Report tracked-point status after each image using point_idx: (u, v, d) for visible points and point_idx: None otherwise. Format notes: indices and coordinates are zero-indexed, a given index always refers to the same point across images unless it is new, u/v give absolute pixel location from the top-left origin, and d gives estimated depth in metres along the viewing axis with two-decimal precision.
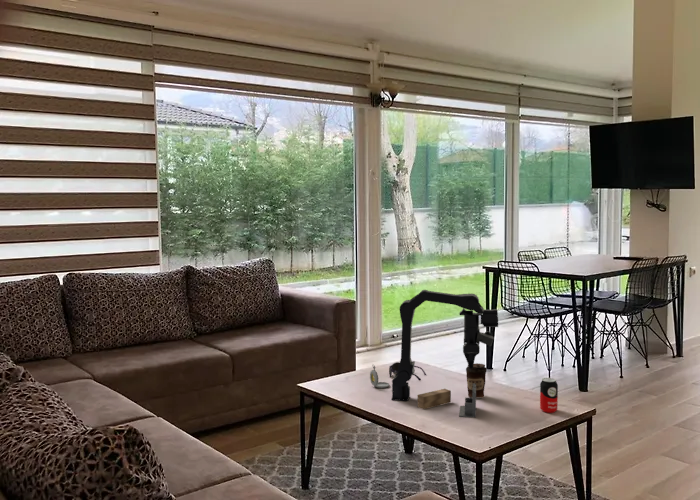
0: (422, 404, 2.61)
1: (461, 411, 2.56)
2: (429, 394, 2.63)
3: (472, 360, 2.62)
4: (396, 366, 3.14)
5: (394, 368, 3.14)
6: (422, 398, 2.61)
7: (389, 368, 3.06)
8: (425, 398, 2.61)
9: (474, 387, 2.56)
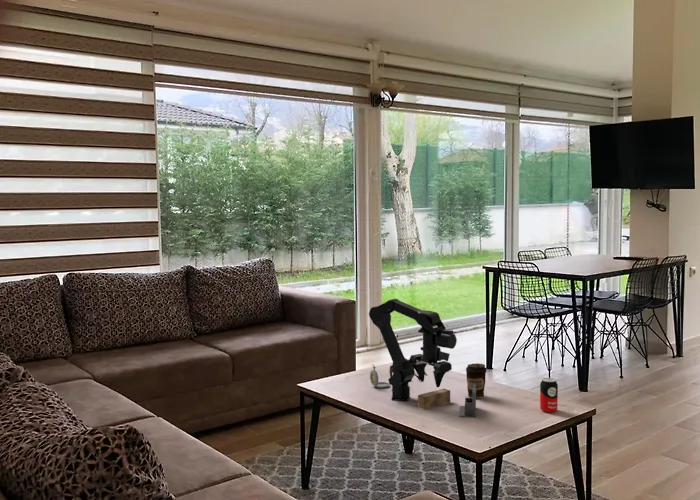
0: (423, 404, 2.61)
1: (461, 411, 2.56)
2: (429, 394, 2.63)
3: (441, 378, 2.59)
4: None
5: None
6: (422, 398, 2.60)
7: (390, 368, 3.06)
8: (426, 398, 2.61)
9: (474, 387, 2.56)
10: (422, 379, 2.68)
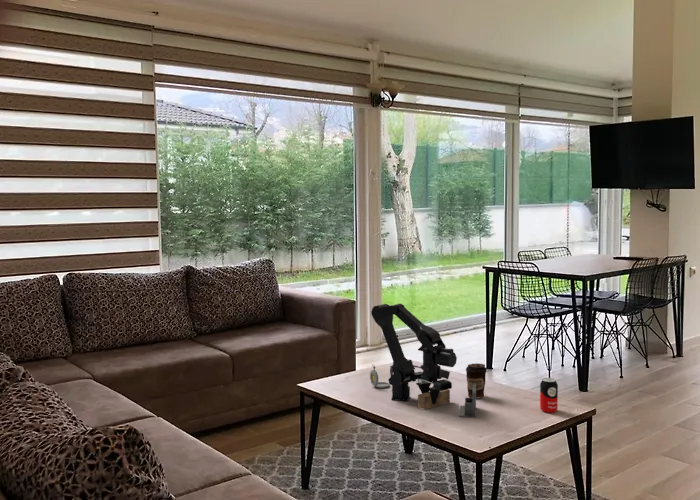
0: (423, 404, 2.61)
1: (461, 411, 2.56)
2: (429, 393, 2.63)
3: (436, 395, 2.62)
4: None
5: None
6: (423, 397, 2.60)
7: (390, 368, 3.06)
8: (426, 398, 2.61)
9: (474, 387, 2.56)
10: None
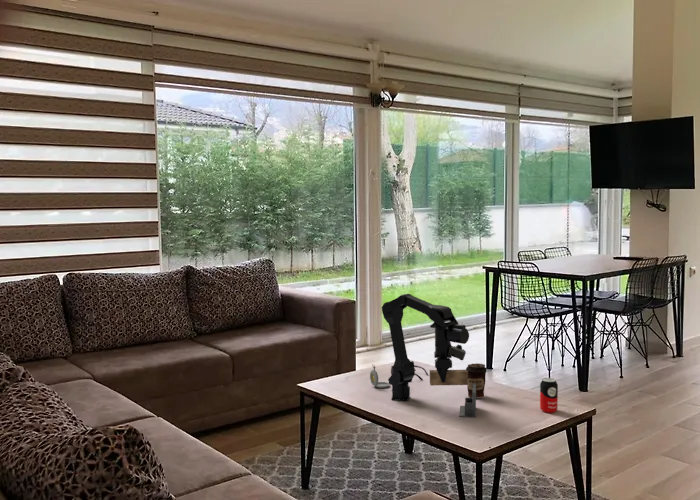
0: (430, 380, 2.57)
1: (461, 411, 2.56)
2: None
3: (444, 374, 2.55)
4: None
5: None
6: (430, 373, 2.57)
7: (391, 368, 3.06)
8: (433, 374, 2.56)
9: (474, 387, 2.56)
10: None
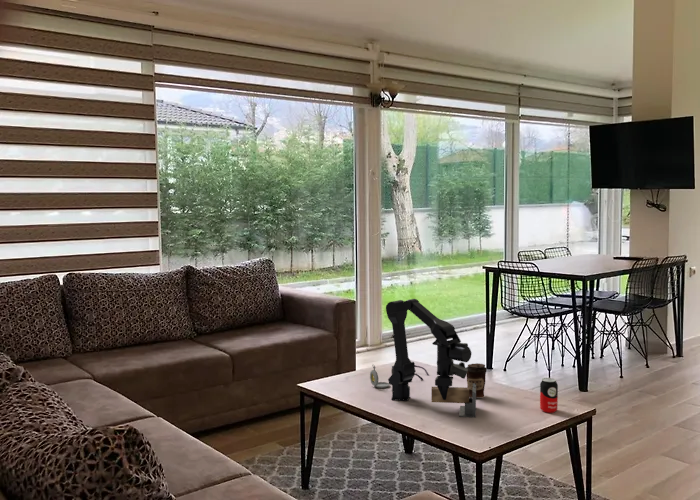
0: None
1: (461, 411, 2.56)
2: None
3: (445, 391, 2.54)
4: None
5: None
6: None
7: None
8: (434, 391, 2.56)
9: (474, 387, 2.56)
10: None
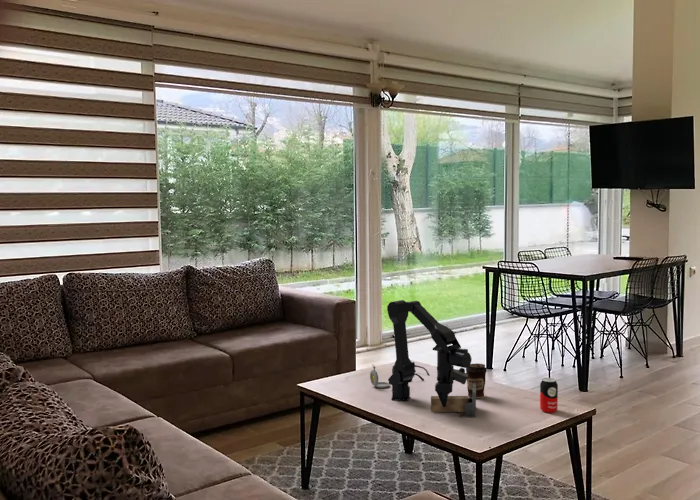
0: (431, 406, 2.58)
1: None
2: None
3: (445, 398, 2.53)
4: None
5: None
6: None
7: (392, 368, 3.06)
8: (433, 400, 2.57)
9: (474, 387, 2.56)
10: None
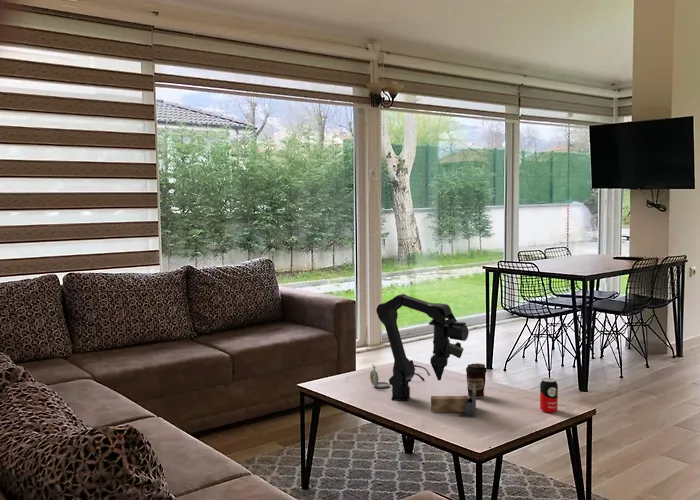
0: (431, 406, 2.58)
1: None
2: (441, 397, 2.57)
3: (440, 372, 2.56)
4: None
5: None
6: None
7: None
8: (433, 400, 2.57)
9: (474, 387, 2.56)
10: None
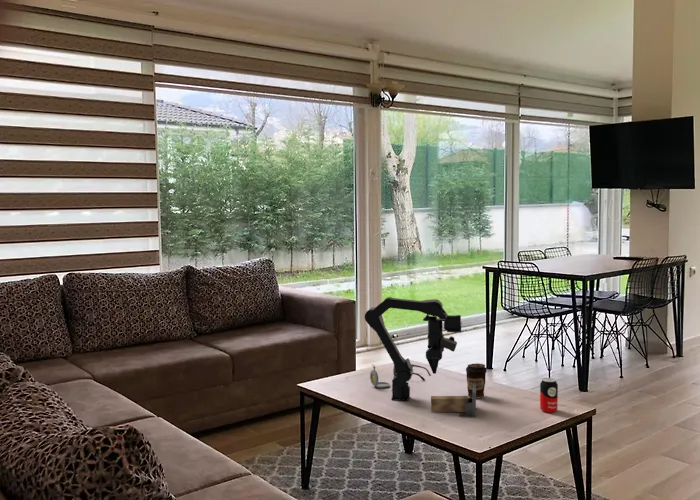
0: (431, 406, 2.58)
1: None
2: (441, 397, 2.57)
3: (435, 365, 2.65)
4: None
5: None
6: None
7: None
8: (433, 400, 2.57)
9: (474, 387, 2.56)
10: None
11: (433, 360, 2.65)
